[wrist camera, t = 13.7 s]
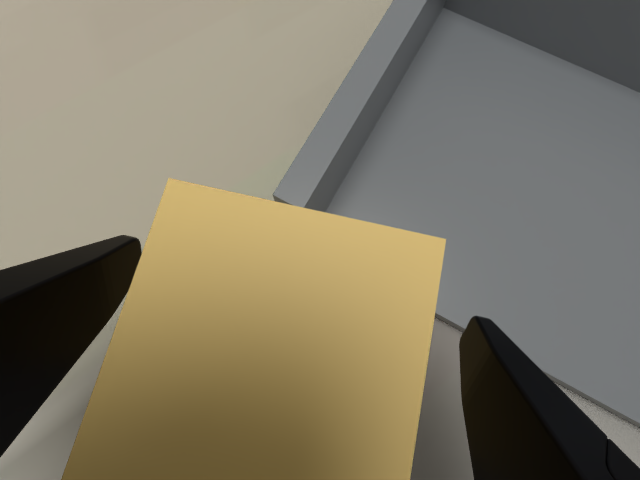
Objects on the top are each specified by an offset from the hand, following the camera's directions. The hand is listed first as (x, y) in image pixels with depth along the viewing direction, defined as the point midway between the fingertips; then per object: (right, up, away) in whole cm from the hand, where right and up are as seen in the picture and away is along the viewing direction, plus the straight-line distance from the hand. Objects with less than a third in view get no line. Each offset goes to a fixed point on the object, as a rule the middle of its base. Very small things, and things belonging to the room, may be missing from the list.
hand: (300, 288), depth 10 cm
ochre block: (0, -3, +8) cm, 9 cm away
